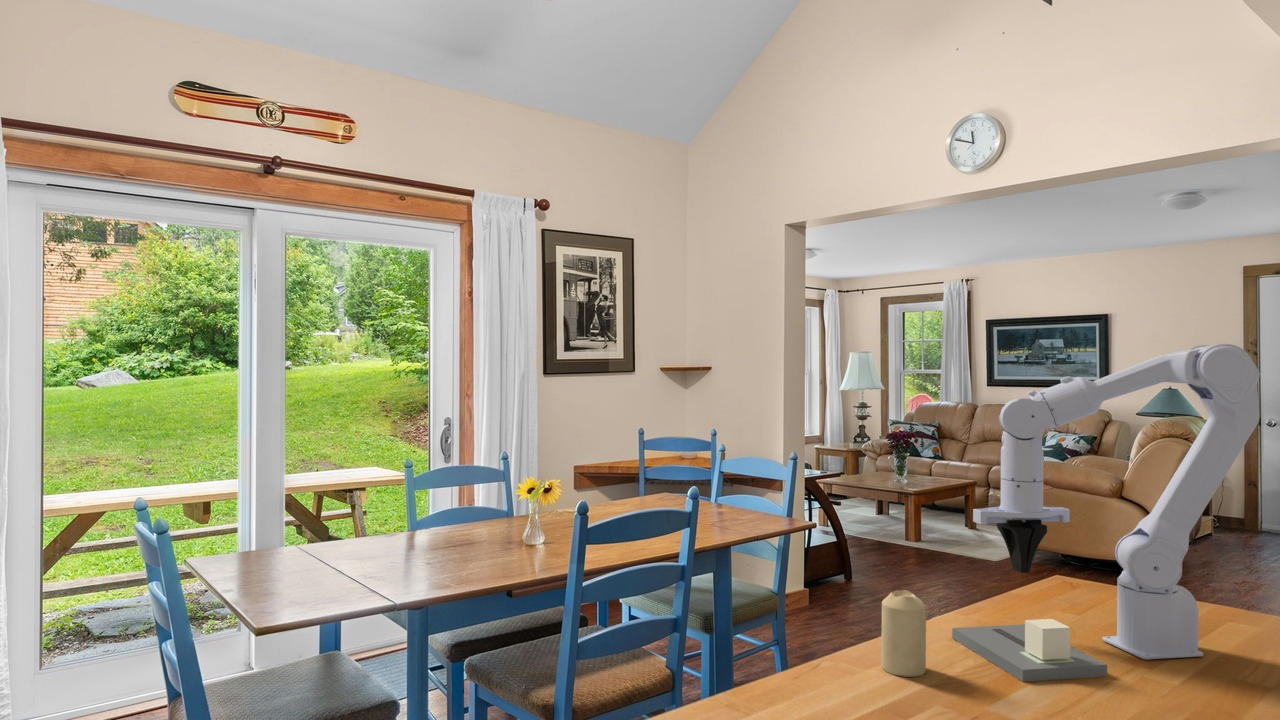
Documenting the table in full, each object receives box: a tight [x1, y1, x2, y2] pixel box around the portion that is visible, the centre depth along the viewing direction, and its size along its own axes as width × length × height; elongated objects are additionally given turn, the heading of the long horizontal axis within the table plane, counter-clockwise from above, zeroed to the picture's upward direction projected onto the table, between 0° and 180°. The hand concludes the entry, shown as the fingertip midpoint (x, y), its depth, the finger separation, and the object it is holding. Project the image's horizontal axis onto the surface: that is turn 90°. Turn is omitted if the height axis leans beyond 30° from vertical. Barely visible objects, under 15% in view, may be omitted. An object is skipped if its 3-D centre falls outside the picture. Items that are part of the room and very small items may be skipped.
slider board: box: [951, 623, 1108, 683], centre depth 109 cm, size 12×16×2 cm
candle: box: [880, 589, 927, 678], centre depth 104 cm, size 6×6×10 cm
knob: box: [1024, 618, 1071, 660], centre depth 105 cm, size 4×4×4 cm
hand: (1021, 571), depth 118 cm, fingers closed
